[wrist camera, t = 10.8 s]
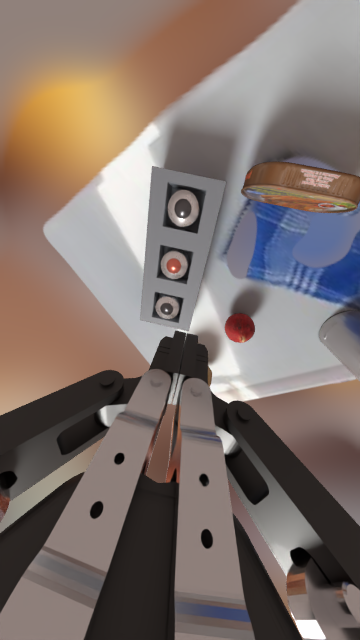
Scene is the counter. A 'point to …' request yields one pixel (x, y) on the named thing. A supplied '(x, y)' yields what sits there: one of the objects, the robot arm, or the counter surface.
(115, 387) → the robot arm
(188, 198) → the knob
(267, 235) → the counter surface
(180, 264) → the knob mid
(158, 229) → the mount
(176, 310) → the knob
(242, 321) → the onion
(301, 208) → the tin
